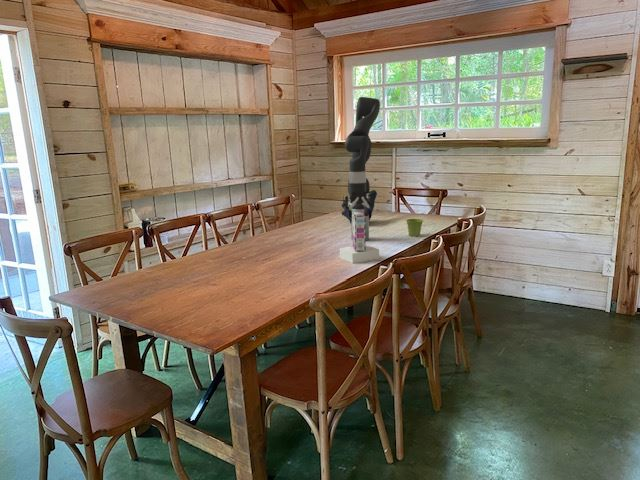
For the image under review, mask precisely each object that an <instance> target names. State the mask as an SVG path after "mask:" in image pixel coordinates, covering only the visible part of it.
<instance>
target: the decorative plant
mask: <svg viewBox="0 0 640 480" xmlns="http://www.w3.org/2000/svg"><path fill="white" fill-rule="evenodd" d="M369 193H371V194H372V199H373V206H371V207H369V221H371V218H372V215H373V211H374V208H375V202H376V198H377V195H378V193H377V190H375V189H372V190H370V192H369ZM348 205H349V203H348ZM341 207H342V208H343V203H342V204H341ZM341 215H342V217H344V218H346V219H347V220H348V221H349V222H350V224H351V222H352V218H348V217H347V209H344V210H343V211H342V212H341Z"/></svg>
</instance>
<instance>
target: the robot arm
mask: <svg viewBox="0 0 640 480" xmlns="http://www.w3.org/2000/svg"><path fill="white" fill-rule="evenodd" d="M380 109H381V102H380V100H379V99H378V98H374V97H366V96H360V97H359V98H357V102H356V114H355V125H354V128H353V130H352V131H351V132H350V134H348V135H347V137H346V138H345V141H344V148H345V150H346V151H347V152H348V153H352V155H351V156H352V157H351V158H350V159H349V175H348V182H347V193H348V195H343V196H342V204H343V207H342V208H343V209H347V217H348V218H352V222H351V223H350V227H351V229H350V230H351V241H353V212H363V214H364V215H365V242H367V241H369V240H370V226H369V225H370V220H369V207H371V206H373V199H372V194H371V193H369V192H370V191H371V190H370V187H371V186H370V181H369V179H368V178H367V174H366V164H367V162H368V161H369V159H370V158H371V152H372V146H373V144H372V140H371V137H370V136H369V133H370V130H371V128H372V126H373V125H374V123H375V121H376V119H377V118H378V116H379V113H380ZM348 204H349V205H348ZM348 218H347V219H348Z"/></svg>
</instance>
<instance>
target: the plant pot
mask: <svg viewBox="0 0 640 480" xmlns="http://www.w3.org/2000/svg"><path fill="white" fill-rule="evenodd" d="M405 221H406V224H407V229H408V236H410V237H420V236H421V230H422V225H423V222H424V219H421V218H407V219H406V220H405Z"/></svg>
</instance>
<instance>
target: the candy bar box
mask: <svg viewBox="0 0 640 480" xmlns="http://www.w3.org/2000/svg"><path fill="white" fill-rule="evenodd" d="M366 245H367V244H366V241H365V215H364V214H363V212H353V240H352V246H353V247H354V249H355V251H356V252H359V251H366Z"/></svg>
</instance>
